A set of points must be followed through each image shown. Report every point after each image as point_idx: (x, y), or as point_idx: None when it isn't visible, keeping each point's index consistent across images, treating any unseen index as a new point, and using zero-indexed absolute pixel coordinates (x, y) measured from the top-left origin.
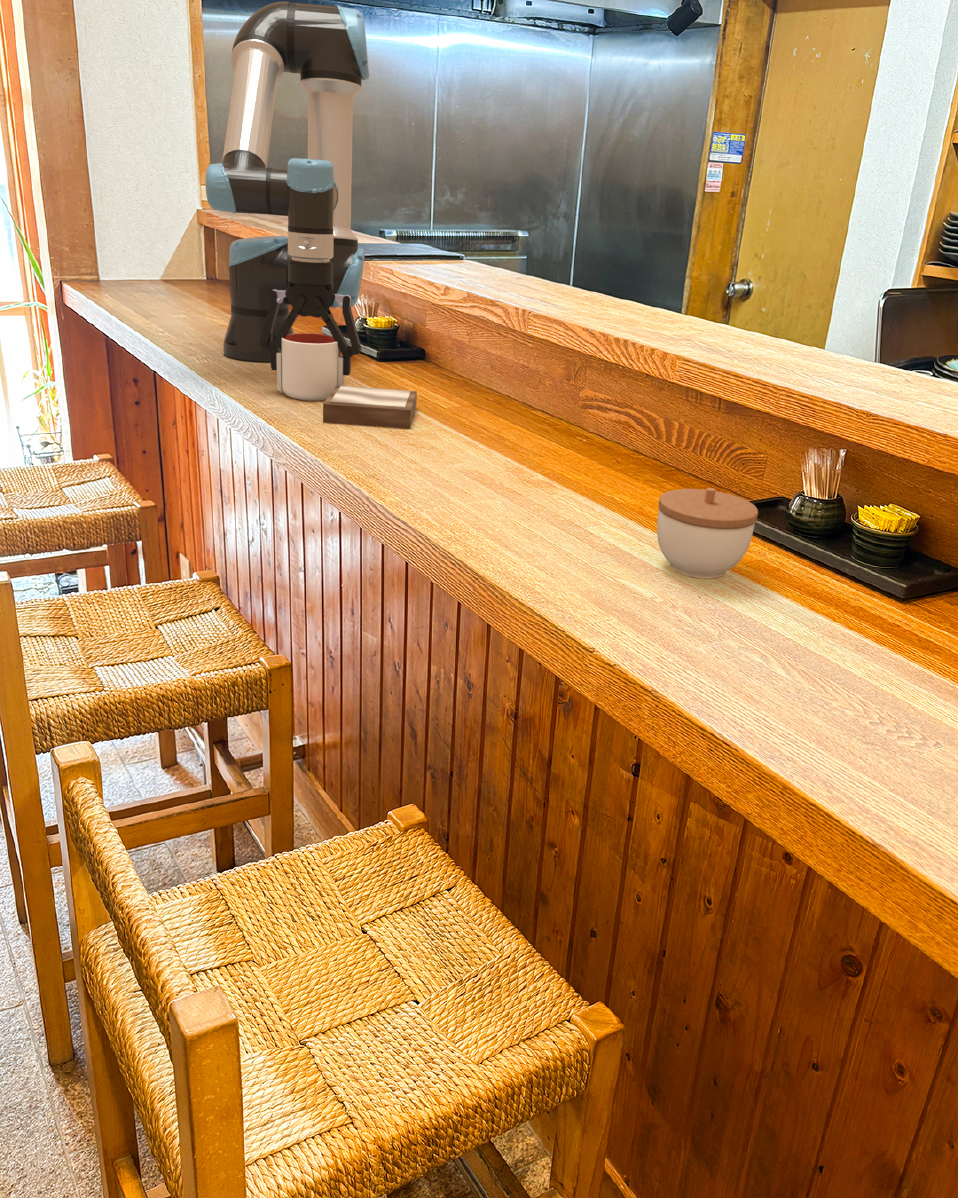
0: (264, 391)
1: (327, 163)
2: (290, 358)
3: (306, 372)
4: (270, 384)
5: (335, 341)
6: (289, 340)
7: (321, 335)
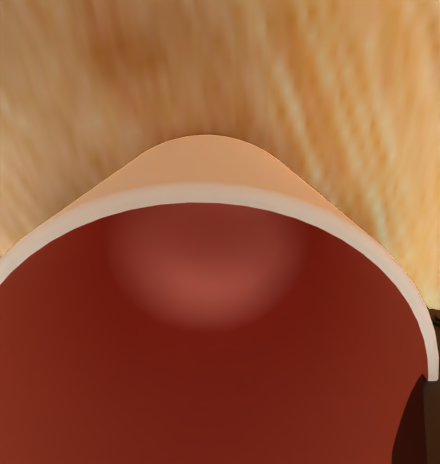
0: (32, 212)
1: None
2: (116, 425)
3: (201, 396)
4: (8, 76)
5: (392, 459)
6: (10, 291)
7: (282, 209)
